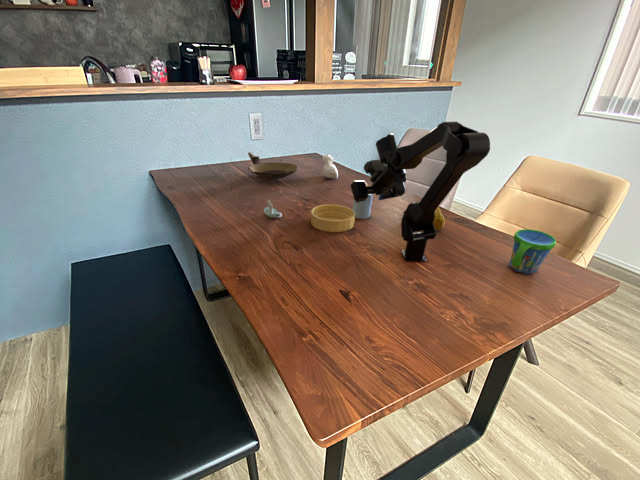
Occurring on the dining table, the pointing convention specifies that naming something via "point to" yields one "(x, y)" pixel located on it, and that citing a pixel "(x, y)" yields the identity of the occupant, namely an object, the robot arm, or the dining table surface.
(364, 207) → the baby bottle
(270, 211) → the pacifier
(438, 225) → the food
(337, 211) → the bowl
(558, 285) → the dining table surface
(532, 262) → the snack cup
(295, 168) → the oil lamp
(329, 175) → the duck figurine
